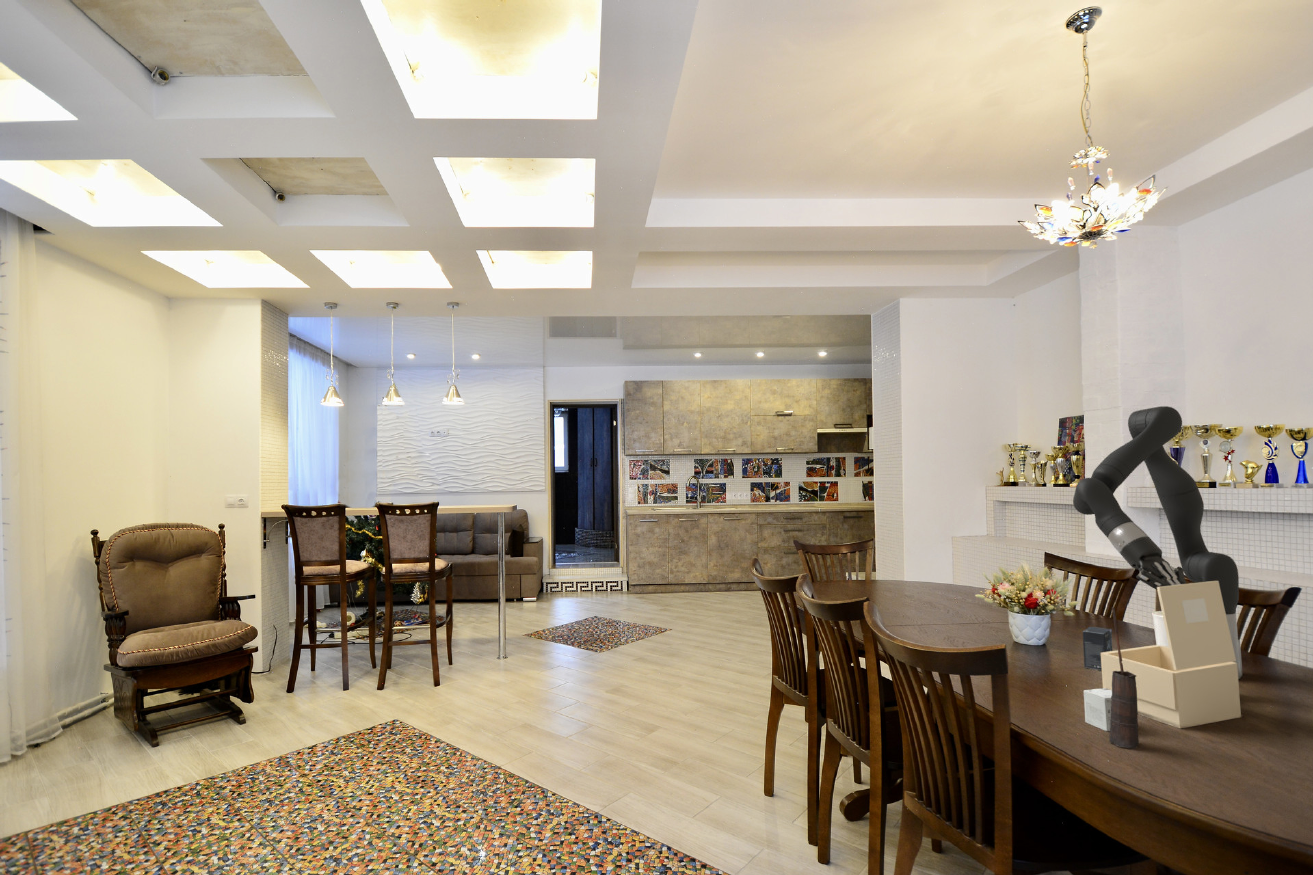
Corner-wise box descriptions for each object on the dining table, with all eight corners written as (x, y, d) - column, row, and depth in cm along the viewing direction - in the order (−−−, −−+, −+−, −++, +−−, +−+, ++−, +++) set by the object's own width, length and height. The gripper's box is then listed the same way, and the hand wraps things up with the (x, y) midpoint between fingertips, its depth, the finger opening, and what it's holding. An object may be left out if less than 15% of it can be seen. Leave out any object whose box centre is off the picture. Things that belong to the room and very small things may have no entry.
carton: (1161, 692, 173) (1158, 644, 174) (1242, 716, 155) (1238, 663, 156) (1101, 702, 167) (1098, 652, 168) (1178, 728, 150) (1174, 673, 150)
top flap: (1215, 580, 160) (1218, 580, 159) (1233, 660, 156) (1236, 660, 156) (1156, 587, 154) (1159, 587, 154) (1173, 669, 151) (1177, 670, 150)
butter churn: (1167, 756, 136) (1157, 614, 138) (1115, 754, 138) (1106, 614, 139) (1143, 738, 145) (1134, 605, 147) (1094, 736, 147) (1085, 605, 148)
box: (1107, 671, 192) (1104, 633, 192) (1083, 667, 196) (1081, 630, 196) (1114, 665, 197) (1111, 628, 198) (1091, 662, 201) (1089, 625, 202)
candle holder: (1154, 648, 213) (1151, 609, 214) (1194, 652, 207) (1191, 612, 208) (1154, 655, 205) (1151, 615, 206) (1196, 660, 199) (1193, 618, 200)
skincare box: (1107, 732, 149) (1104, 697, 150) (1084, 722, 155) (1082, 689, 156) (1130, 729, 150) (1128, 695, 151) (1107, 719, 156) (1105, 686, 157)
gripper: (1123, 536, 165) (1177, 597, 152) (1164, 533, 168) (1220, 592, 156) (1104, 556, 170) (1155, 616, 157) (1144, 552, 173) (1197, 610, 161)
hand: (1187, 604), depth 157 cm, fingers closed
